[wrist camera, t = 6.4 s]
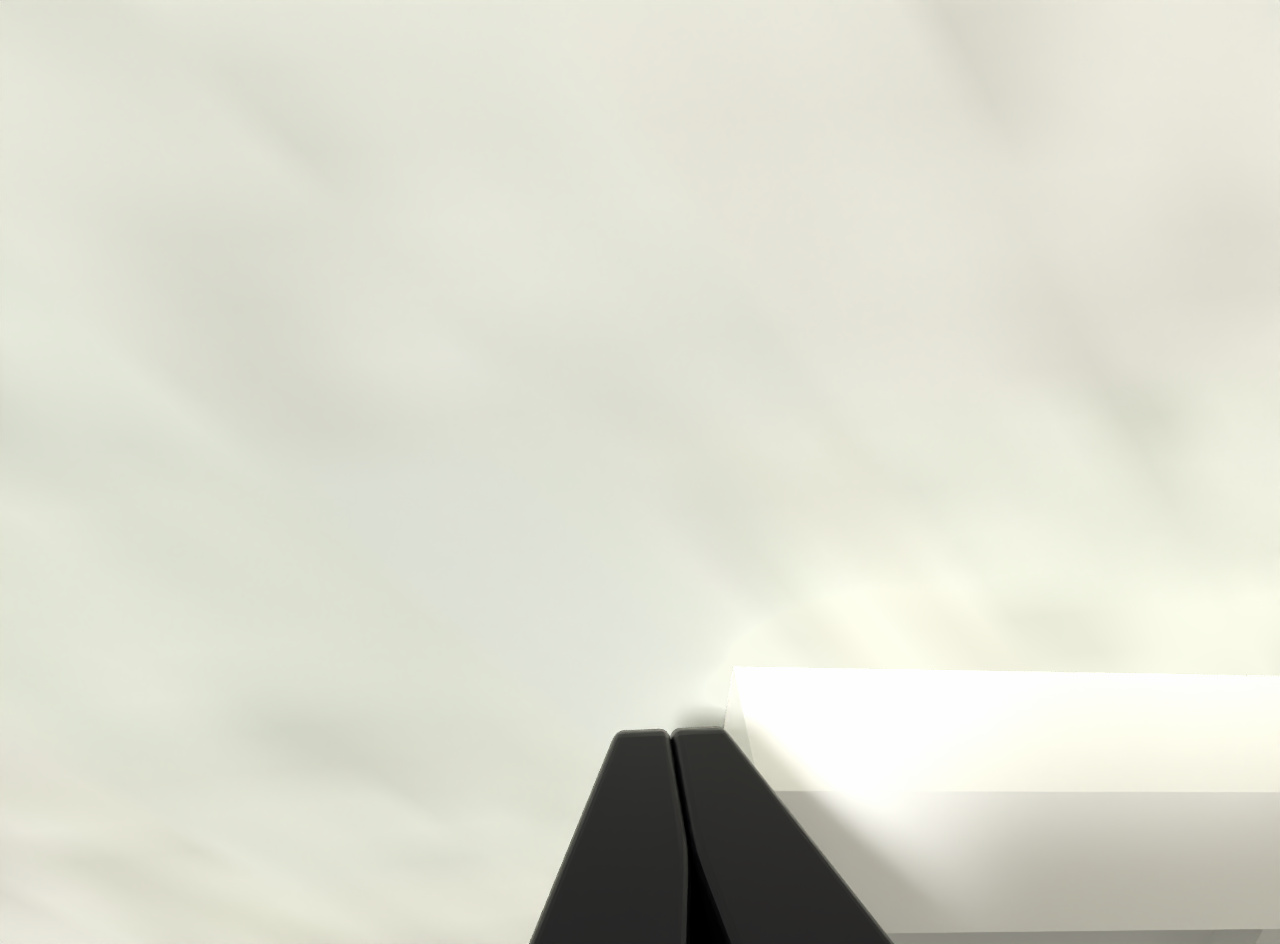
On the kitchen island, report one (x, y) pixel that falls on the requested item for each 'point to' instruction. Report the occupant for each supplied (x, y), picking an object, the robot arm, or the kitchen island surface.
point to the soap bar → (1031, 798)
